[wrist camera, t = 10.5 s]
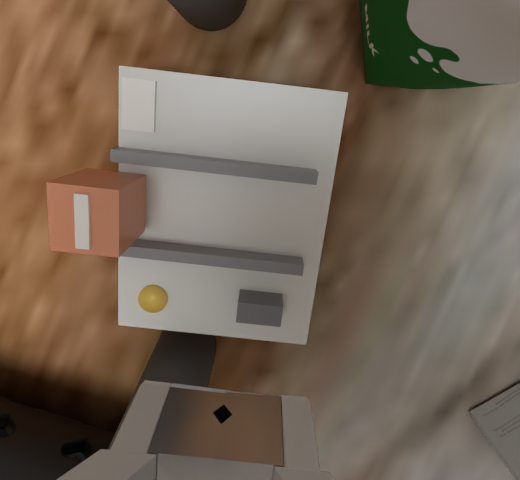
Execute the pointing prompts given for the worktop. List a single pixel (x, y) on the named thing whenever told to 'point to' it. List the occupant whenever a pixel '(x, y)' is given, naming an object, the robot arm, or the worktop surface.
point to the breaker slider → (96, 211)
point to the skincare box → (502, 426)
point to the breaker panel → (226, 202)
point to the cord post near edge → (209, 12)
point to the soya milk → (441, 43)
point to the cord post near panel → (178, 362)
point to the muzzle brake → (44, 442)
